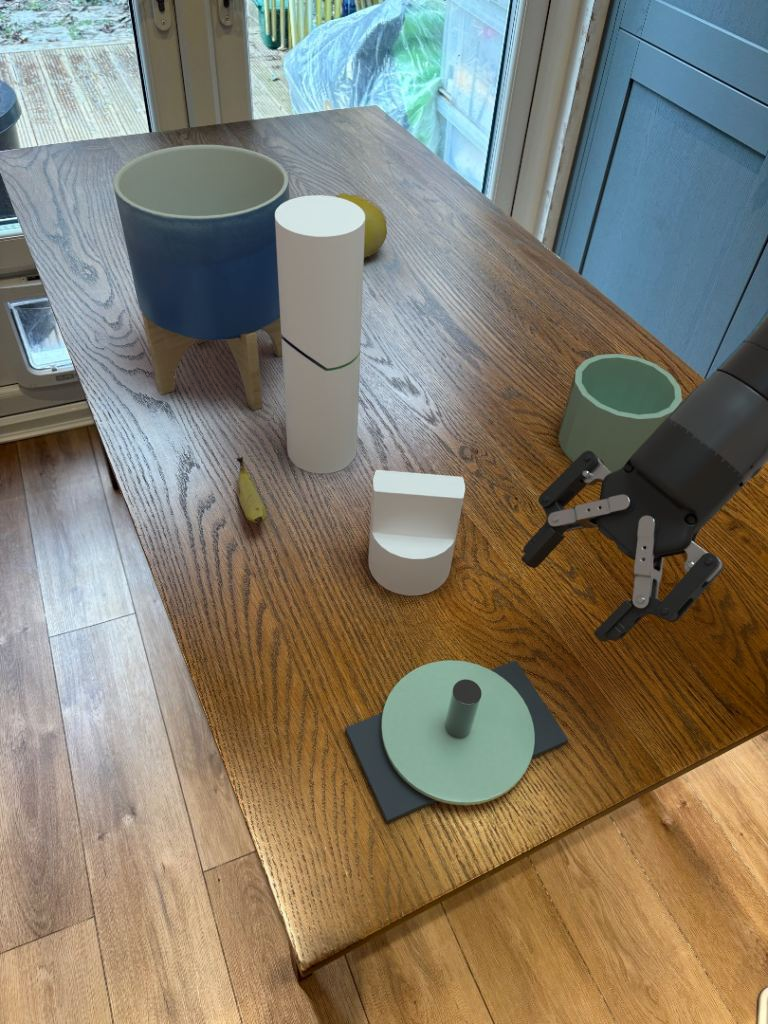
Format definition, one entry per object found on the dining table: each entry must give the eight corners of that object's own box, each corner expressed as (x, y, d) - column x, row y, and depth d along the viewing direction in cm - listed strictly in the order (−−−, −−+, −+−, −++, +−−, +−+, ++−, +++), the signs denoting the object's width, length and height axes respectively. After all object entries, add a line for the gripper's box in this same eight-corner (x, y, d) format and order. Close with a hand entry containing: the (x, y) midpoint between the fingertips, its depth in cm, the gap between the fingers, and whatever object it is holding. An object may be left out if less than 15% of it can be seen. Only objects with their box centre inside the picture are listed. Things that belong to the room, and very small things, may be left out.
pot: (654, 422, 100) (678, 363, 93) (657, 486, 92) (684, 426, 85) (560, 405, 102) (577, 346, 95) (555, 467, 93) (573, 407, 86)
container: (314, 483, 89) (309, 245, 67) (273, 444, 93) (257, 209, 71) (370, 454, 93) (383, 221, 71) (329, 418, 97) (329, 188, 75)
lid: (537, 683, 71) (554, 641, 66) (525, 825, 62) (543, 789, 57) (397, 653, 73) (402, 609, 67) (365, 787, 63) (368, 748, 58)
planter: (189, 433, 94) (152, 233, 75) (133, 355, 104) (88, 161, 85) (322, 386, 102) (319, 194, 83) (257, 318, 112) (242, 133, 93)
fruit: (380, 273, 123) (383, 214, 116) (316, 265, 124) (315, 205, 117) (390, 244, 130) (393, 186, 123) (329, 236, 131) (329, 179, 124)
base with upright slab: (450, 535, 84) (464, 456, 76) (450, 599, 78) (465, 521, 70) (371, 528, 85) (376, 449, 76) (364, 592, 78) (369, 513, 70)
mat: (514, 664, 73) (516, 659, 73) (566, 743, 68) (568, 739, 67) (345, 731, 68) (345, 727, 67) (386, 824, 62) (387, 820, 62)
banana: (271, 539, 83) (269, 515, 80) (250, 544, 82) (247, 519, 79) (252, 478, 89) (250, 453, 86) (232, 482, 88) (229, 457, 86)
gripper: (626, 378, 58) (486, 534, 61) (781, 493, 50) (611, 663, 54) (651, 410, 64) (523, 549, 67) (793, 517, 56) (639, 668, 60)
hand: (562, 600), depth 60 cm, fingers open, 8 cm apart
